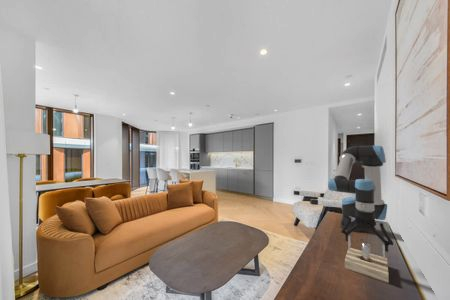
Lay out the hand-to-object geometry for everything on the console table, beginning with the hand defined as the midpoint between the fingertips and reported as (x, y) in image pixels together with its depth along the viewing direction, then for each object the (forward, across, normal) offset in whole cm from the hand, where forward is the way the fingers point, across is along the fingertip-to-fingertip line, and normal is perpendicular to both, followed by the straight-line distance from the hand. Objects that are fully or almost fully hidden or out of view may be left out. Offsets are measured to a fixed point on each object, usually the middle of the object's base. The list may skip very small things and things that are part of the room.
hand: (365, 252), depth 88 cm
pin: (+7, 0, 0) cm, 7 cm away
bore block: (+7, 0, 0) cm, 7 cm away
